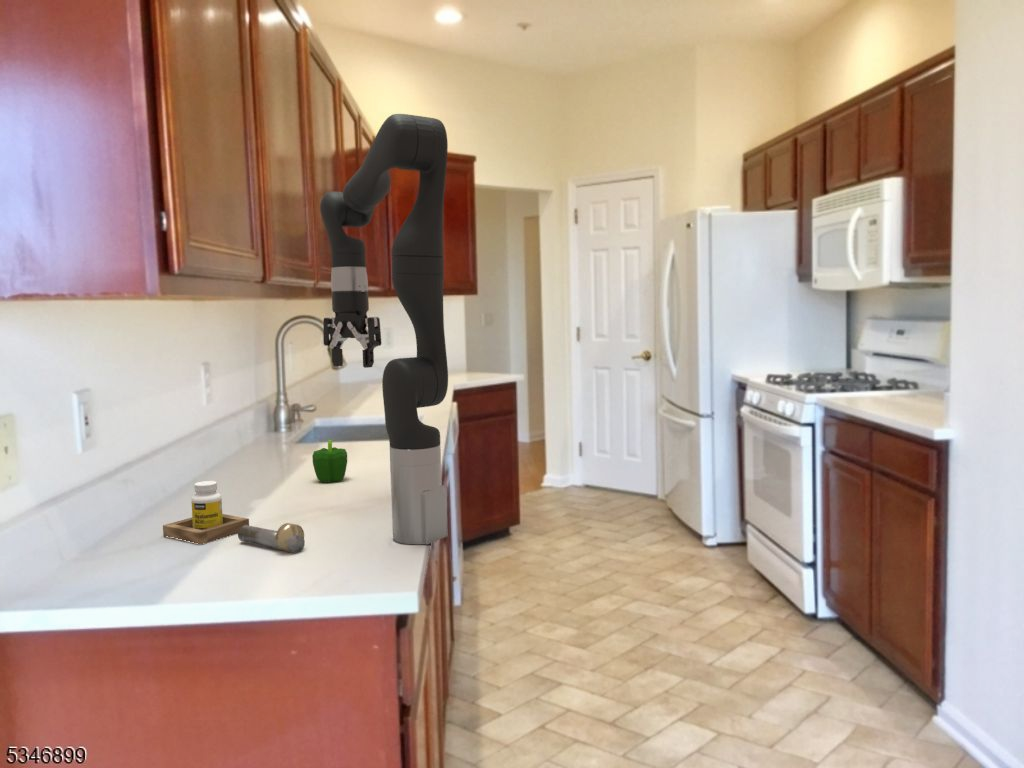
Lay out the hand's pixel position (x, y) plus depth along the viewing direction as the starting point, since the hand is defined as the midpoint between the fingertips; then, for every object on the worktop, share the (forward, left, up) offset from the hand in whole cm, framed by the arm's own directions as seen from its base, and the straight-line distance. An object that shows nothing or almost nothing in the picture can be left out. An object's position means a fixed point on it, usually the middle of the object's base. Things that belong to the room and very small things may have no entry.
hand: (352, 366), depth 165 cm
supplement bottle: (+12, +29, -30) cm, 43 cm away
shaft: (-6, +29, -30) cm, 42 cm away
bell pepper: (+24, -16, -30) cm, 42 cm away
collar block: (+12, +29, -30) cm, 43 cm away
